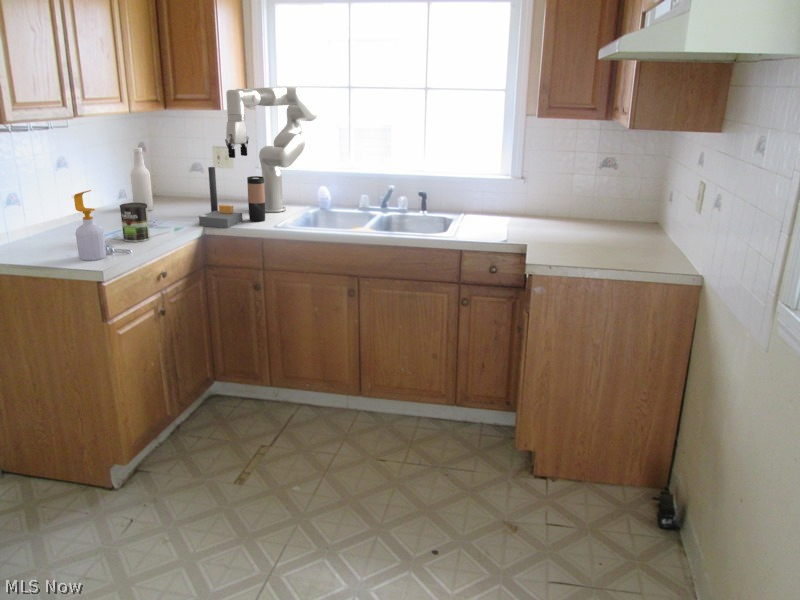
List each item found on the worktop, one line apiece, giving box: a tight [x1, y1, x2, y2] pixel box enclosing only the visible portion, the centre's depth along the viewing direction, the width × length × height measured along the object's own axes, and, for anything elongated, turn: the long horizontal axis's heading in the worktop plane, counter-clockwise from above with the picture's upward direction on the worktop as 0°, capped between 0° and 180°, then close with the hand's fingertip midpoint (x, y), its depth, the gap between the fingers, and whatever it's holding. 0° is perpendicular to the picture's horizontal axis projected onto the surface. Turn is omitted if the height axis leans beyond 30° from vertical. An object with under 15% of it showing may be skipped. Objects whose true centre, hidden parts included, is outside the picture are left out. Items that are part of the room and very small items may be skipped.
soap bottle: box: [73, 189, 107, 262], centre depth 230 cm, size 9×9×25 cm
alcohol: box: [130, 146, 154, 212], centre depth 310 cm, size 9×9×30 cm
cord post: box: [207, 166, 219, 212], centre depth 302 cm, size 8×8×23 cm
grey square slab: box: [198, 210, 244, 229], centre depth 292 cm, size 14×14×4 cm
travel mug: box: [246, 175, 266, 223], centre depth 298 cm, size 8×8×20 cm
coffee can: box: [119, 202, 151, 243], centre depth 259 cm, size 10×10×14 cm
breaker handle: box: [218, 204, 234, 213], centre depth 295 cm, size 2×6×3 cm, turn 76°
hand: (238, 156), depth 297 cm, fingers open, 9 cm apart
